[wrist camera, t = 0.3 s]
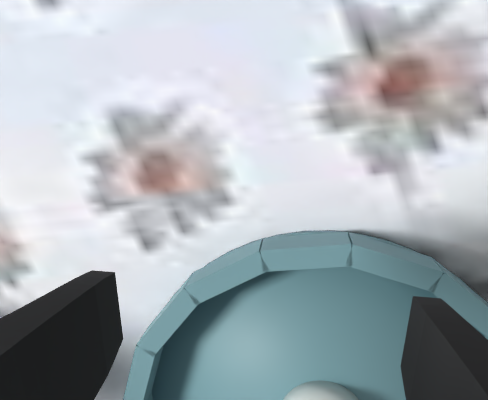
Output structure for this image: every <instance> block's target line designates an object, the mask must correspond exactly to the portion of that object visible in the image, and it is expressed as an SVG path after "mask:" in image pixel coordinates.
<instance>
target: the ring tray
mask: <svg viewBox="0 0 488 400" xmlns="http://www.w3.org/2000/svg"><path fill="white" fill-rule="evenodd" d="M413 296H418V297H431V298H441V299H442V300H443V301H445V302H446V303H447V304H448V305H449V306H451V307H452V308H453V309H454V310H455V311H456V312H457V313H458V314H460V315H461V316H462V317H463V318H464V319H465V320H466V321H467V322H468V323H470V324H471V325H472V326H473V327H474V328H475V329H476V330H477V331H478V332H479V333H481V334H482V335H483V336H484V337H485V338H486V339H487V340H488V302H486V301H485V300H484V299H483V298H482V297H480V296H479V295H478V294H477V293H475V292H474V291H473V290H472V289H471V288H470V287H468V286H467V285H466V284H465V283H464V282H463V281H462V280H461V279H460V278H459V277H457V276H456V275H454V274H453V273H451V272H450V271H449V270H447V269H446V268H445V267H443V266H442V265H441V264H440V263H438V262H437V261H436V260H435V259H433V258H431V257H430V256H427V255H423V254H420V253H418V252H416V251H414V250H412V249H409V248H407V247H404V246H401V245H399V244H396V243H393V242H391V241H388V240H384V239H380V238H376V237H372V236H368V235H363V234H358V233H351V232H340V231H301V232H294V233H287V234H280V235H275V236H271V237H268V238H263V239H260V240H257V241H253V242H251V243H248V244H246V245H243V246H241V247H239V248H236V249H234V250H231V251H229V252H227V253H226V254H224V255H222V256H220V257H219V258H217V259H215V260H214V261H212V262H210V263H209V264H207V265H206V266H205V267H203V268H201V269H199V270H197V271H195V272H194V273H192V275H191V276H190V277H189V278H188V279H187V281H186V282H185V283H184V284H183V285H182V287H181V288H180V289H179V290H178V291H177V292H176V293H175V294H174V295H173V297H172V298H171V300H170V301H169V302H168V304H167V305H166V306H165V307H164V308H163V310H162V311H161V312H160V313H159V315H158V316H157V317H156V318H155V319H154V321H153V322H152V323H151V324H150V325H149V327H148V328H147V330H146V331H145V333H144V334H143V336H142V337H141V339H140V340H139V342H138V343H137V345H136V348H135V352H134V356H133V360H132V365H131V369H130V373H129V377H128V381H127V385H126V390H125V394H124V398H123V400H406V397H405V391H404V385H403V379H402V373H401V367H400V366H401V360H402V355H403V349H404V343H405V338H406V332H407V326H408V321H409V315H410V310H411V304H412V298H413Z"/></svg>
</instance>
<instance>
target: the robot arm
mask: <svg viewBox="0 0 488 400" xmlns="http://www.w3.org/2000/svg"><path fill="white" fill-rule="evenodd" d="M122 340H123V334H122V326H121V318H120V310H119V302H118V294H117V286H116V278H115V272H103V271H90V272H88V273H85V274H83V275H81V276H79V277H77V278H75V279H73V280H71V281H69V282H68V283H66V284H64V285H62V286H60V287H58V288H56V289H55V290H53V291H51V292H49V293H47V294H46V295H44V296H42V297H40V298H38V299H36V300H34V301H33V302H31V303H29V304H27V305H25V306H23V307H22V308H20V309H18V310H16V311H14V312H12V313H10V314H8V315H6V316H4V317H2V318H0V400H94V399H95V397H96V395H97V393H98V392H99V390H100V388H101V386H102V385H103V383H104V381H105V379H106V377H107V376H108V374H109V371H110V369H111V367H112V364H113V362H114V360H115V357H116V355H117V352H118V350H119V348H120V345H121V343H122ZM400 367H401V373H402V379H403V385H404V391H405V397H406V400H488V340H487V339H486V338H485V337H484V336H483V335H482V334H481V333H479V332H478V331H477V330H476V329H475V328H474V327H473V326H472V325H471V324H470V323H468V322H467V321H466V320H465V319H464V318H463V317H462V316H461V315H460V314H458V313H457V312H456V311H455V310H454V309H453V308H452V307H451V306H449V305H448V304H447V303H446V302H445V301H443V300H442V299H441V298H431V297H418V296H413V298H412V304H411V310H410V315H409V321H408V326H407V332H406V338H405V343H404V349H403V355H402V360H401V366H400Z"/></svg>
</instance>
